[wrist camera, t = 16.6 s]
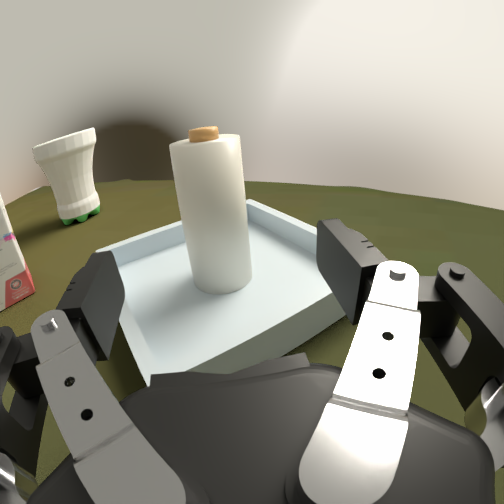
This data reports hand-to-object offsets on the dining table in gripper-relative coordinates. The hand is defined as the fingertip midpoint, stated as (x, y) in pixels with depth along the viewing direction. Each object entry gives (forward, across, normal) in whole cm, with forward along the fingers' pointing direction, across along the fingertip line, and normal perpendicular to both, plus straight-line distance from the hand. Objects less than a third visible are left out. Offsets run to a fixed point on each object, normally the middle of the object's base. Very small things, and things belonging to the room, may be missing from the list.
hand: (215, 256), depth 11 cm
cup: (+36, +23, +9) cm, 44 cm away
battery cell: (+11, 0, +8) cm, 13 cm away
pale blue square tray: (+11, 0, +9) cm, 14 cm away
